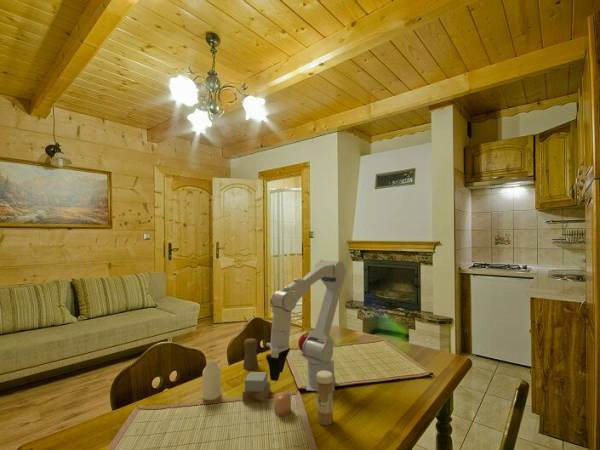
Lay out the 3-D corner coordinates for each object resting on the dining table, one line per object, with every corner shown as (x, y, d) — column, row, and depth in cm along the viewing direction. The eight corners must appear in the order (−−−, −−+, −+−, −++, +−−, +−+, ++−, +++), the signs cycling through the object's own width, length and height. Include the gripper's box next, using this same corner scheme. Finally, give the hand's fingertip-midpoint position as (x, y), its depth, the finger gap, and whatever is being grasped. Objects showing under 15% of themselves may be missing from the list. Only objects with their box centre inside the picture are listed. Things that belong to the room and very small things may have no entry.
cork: (255, 370, 123) (254, 342, 123) (240, 369, 124) (240, 341, 124) (260, 363, 129) (259, 337, 129) (246, 363, 130) (246, 336, 130)
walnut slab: (270, 391, 107) (270, 381, 107) (265, 403, 99) (265, 392, 100) (248, 390, 108) (248, 380, 108) (242, 402, 100) (242, 391, 100)
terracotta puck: (292, 407, 97) (291, 392, 97) (289, 416, 92) (289, 401, 92) (276, 406, 97) (275, 391, 97) (273, 415, 92) (272, 400, 92)
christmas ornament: (318, 357, 134) (317, 333, 135) (298, 357, 134) (297, 333, 135) (317, 349, 143) (317, 327, 143) (298, 349, 143) (298, 327, 143)
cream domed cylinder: (218, 355, 108) (222, 360, 103) (219, 390, 108) (223, 397, 103) (200, 358, 105) (203, 364, 100) (201, 394, 105) (204, 402, 100)
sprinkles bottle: (314, 421, 89) (313, 374, 89) (323, 414, 92) (322, 368, 92) (327, 428, 86) (326, 378, 86) (336, 420, 89) (335, 372, 90)
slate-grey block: (267, 382, 106) (267, 372, 106) (263, 391, 100) (263, 380, 100) (250, 382, 106) (249, 371, 107) (245, 391, 101) (244, 380, 101)
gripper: (272, 324, 105) (268, 367, 103) (262, 333, 91) (258, 382, 89) (293, 326, 104) (290, 369, 102) (286, 336, 90) (282, 386, 88)
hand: (276, 376), depth 95 cm, fingers open, 7 cm apart
